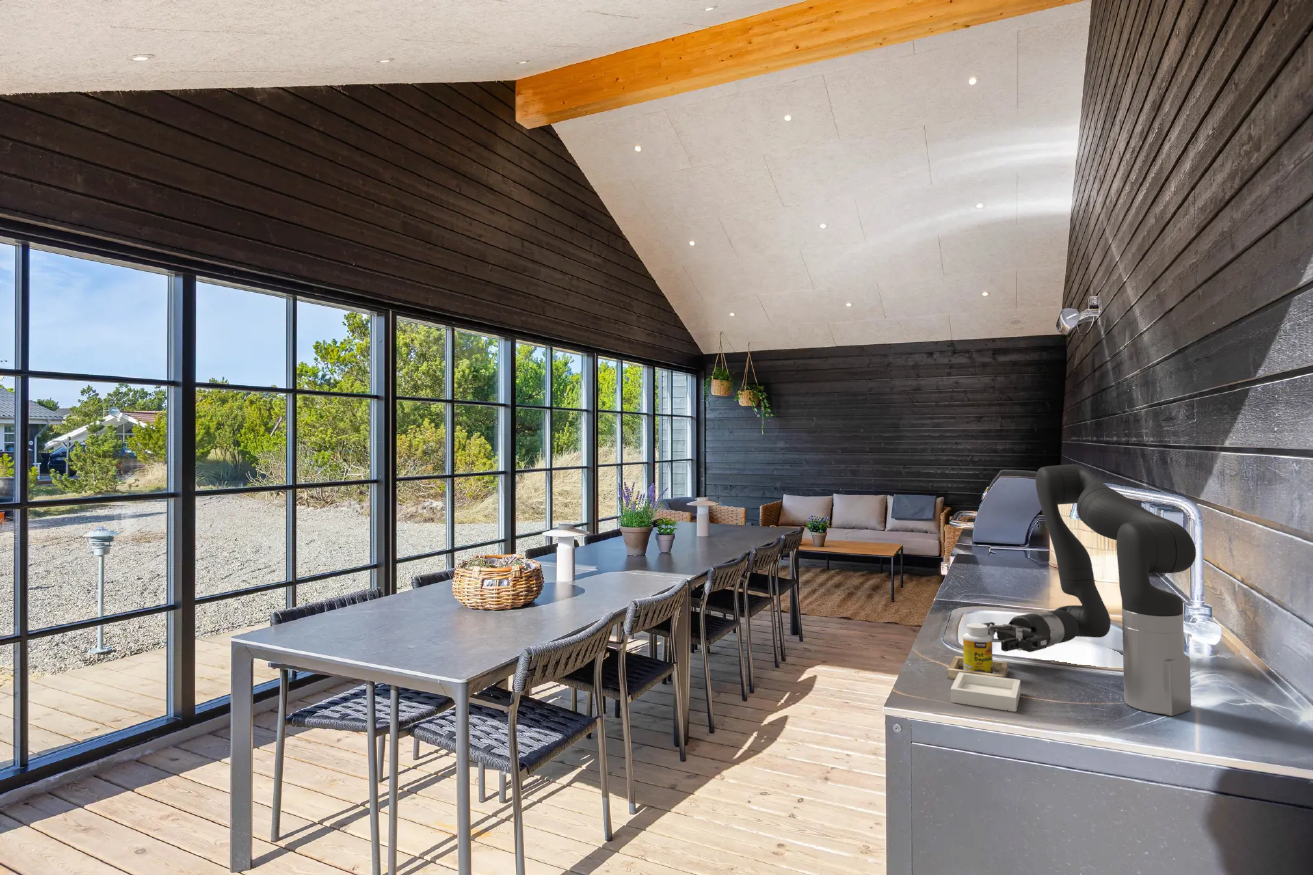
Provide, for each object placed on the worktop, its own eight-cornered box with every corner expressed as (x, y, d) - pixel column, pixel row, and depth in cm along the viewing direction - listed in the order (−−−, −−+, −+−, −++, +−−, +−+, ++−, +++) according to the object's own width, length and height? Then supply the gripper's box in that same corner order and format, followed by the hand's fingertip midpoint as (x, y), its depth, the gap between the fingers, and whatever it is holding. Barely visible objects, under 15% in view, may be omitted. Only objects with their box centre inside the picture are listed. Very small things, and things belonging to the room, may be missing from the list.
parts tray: (1020, 692, 142) (1020, 679, 142) (1016, 711, 132) (1015, 697, 132) (959, 684, 147) (959, 671, 147) (950, 702, 138) (950, 688, 138)
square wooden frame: (1008, 670, 155) (1007, 662, 155) (1003, 685, 146) (1003, 676, 146) (955, 664, 160) (955, 655, 160) (947, 678, 151) (947, 669, 151)
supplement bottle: (973, 679, 150) (972, 629, 150) (958, 671, 156) (957, 622, 156) (998, 677, 151) (997, 627, 151) (983, 669, 156) (982, 621, 156)
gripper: (1007, 607, 168) (956, 616, 161) (1066, 620, 155) (1014, 630, 148) (1008, 640, 168) (957, 650, 161) (1067, 656, 155) (1015, 668, 148)
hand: (985, 641), depth 154 cm, fingers open, 8 cm apart
